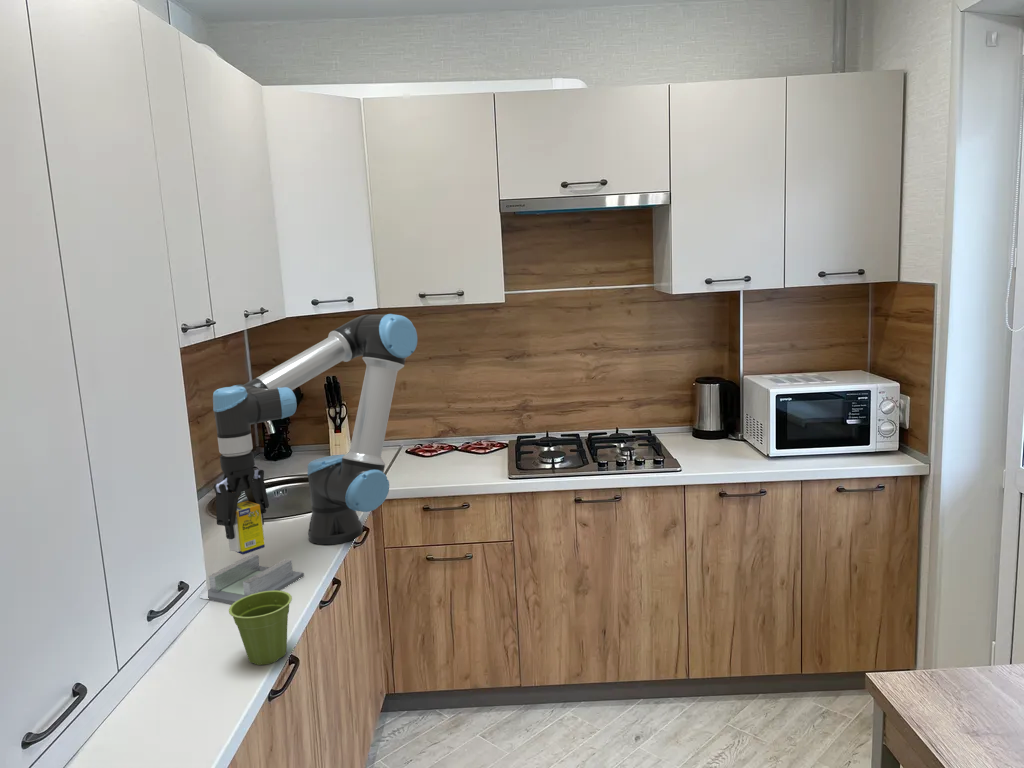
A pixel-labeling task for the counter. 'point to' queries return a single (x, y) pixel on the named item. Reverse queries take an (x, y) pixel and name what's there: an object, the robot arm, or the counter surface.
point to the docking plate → (250, 579)
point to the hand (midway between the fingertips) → (247, 544)
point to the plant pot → (263, 624)
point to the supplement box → (249, 527)
